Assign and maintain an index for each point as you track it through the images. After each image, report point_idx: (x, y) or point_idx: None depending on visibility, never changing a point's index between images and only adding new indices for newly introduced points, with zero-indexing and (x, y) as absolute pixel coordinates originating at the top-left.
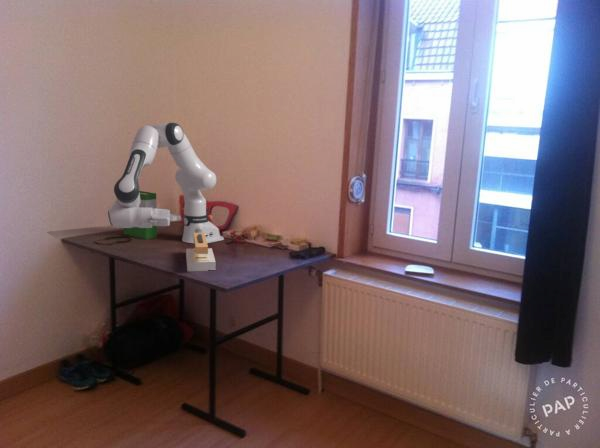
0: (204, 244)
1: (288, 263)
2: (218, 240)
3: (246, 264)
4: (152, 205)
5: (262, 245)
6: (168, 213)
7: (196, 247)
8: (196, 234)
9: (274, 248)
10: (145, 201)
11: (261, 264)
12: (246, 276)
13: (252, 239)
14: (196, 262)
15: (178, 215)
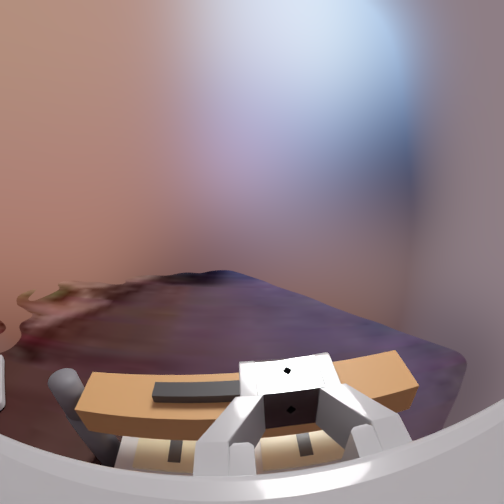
0: (356, 367)
1: (252, 287)
2: (3, 368)
3: (259, 344)
4: None
5: (90, 310)
6: (301, 486)
7: (417, 385)
8: (119, 404)
9: (124, 298)
10: None
11: (259, 320)
12: (374, 339)
13: (37, 317)
14: None
15: (275, 373)
